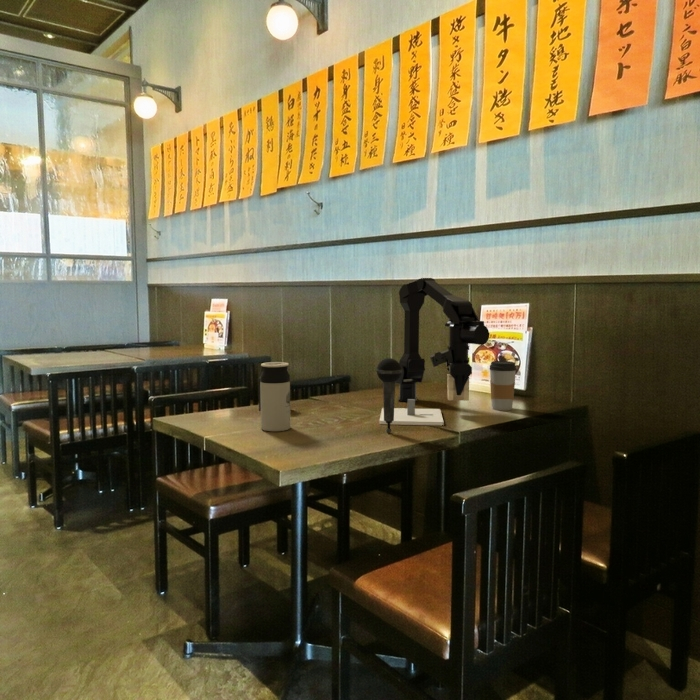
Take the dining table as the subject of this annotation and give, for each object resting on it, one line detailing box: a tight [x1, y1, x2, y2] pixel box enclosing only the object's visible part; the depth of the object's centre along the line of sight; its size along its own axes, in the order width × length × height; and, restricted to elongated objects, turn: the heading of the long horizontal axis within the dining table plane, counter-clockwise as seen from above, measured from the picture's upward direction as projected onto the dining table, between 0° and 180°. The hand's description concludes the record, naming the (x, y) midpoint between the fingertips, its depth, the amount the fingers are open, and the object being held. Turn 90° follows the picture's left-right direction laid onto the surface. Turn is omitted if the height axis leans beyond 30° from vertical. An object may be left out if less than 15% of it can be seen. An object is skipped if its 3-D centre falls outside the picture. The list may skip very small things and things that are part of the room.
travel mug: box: [259, 361, 291, 433], centre depth 156 cm, size 8×8×18 cm
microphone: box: [375, 357, 402, 434], centre depth 151 cm, size 7×7×20 cm
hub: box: [378, 399, 445, 426], centre depth 170 cm, size 18×18×6 cm
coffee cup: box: [489, 360, 517, 412], centre depth 182 cm, size 8×8×15 cm
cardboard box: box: [446, 373, 470, 402], centre depth 173 cm, size 6×6×7 cm
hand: (457, 393), depth 174 cm, fingers closed on cardboard box, 6 cm apart
